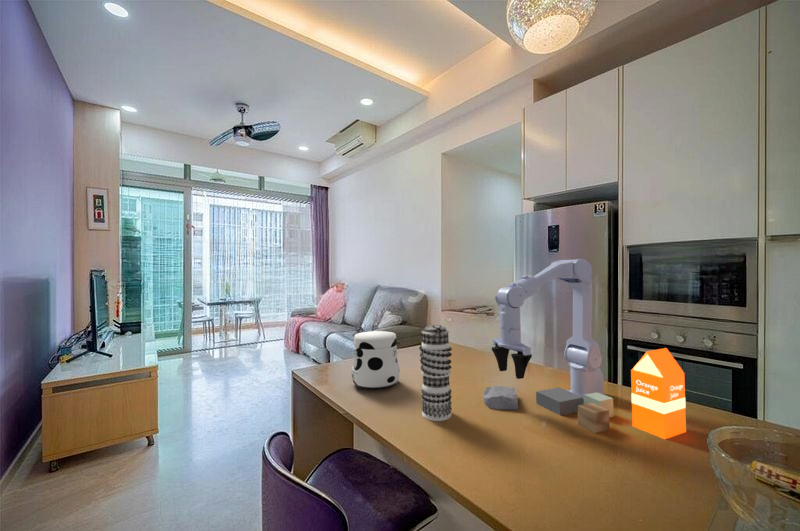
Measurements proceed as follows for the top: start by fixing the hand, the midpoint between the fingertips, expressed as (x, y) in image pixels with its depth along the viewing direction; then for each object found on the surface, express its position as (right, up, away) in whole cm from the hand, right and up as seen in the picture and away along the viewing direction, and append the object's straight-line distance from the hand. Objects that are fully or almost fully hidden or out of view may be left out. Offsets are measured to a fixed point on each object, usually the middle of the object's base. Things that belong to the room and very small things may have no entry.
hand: (511, 374), depth 99 cm
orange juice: (+33, -10, -14) cm, 37 cm away
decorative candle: (-22, -11, -3) cm, 25 cm away
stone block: (-2, -11, +5) cm, 12 cm away
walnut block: (+17, -10, -12) cm, 23 cm away
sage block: (+23, -10, -4) cm, 25 cm away
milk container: (-41, -11, +23) cm, 49 cm away
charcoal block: (+15, -10, +1) cm, 18 cm away
